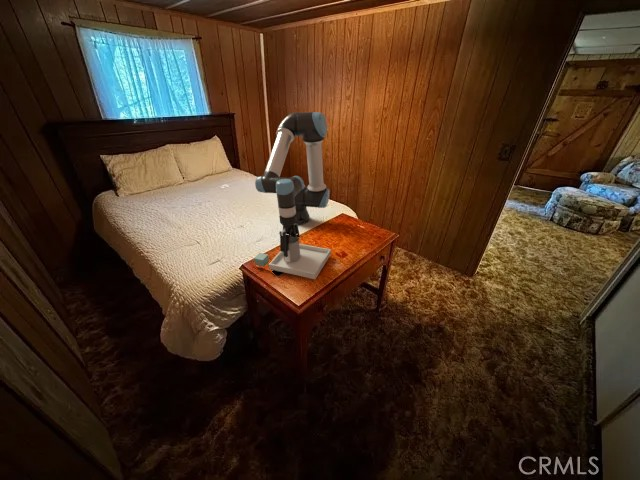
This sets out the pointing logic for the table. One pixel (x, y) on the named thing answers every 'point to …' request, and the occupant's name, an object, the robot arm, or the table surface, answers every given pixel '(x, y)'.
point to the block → (261, 259)
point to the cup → (293, 249)
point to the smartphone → (278, 273)
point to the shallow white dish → (302, 262)
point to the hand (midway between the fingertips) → (291, 256)
